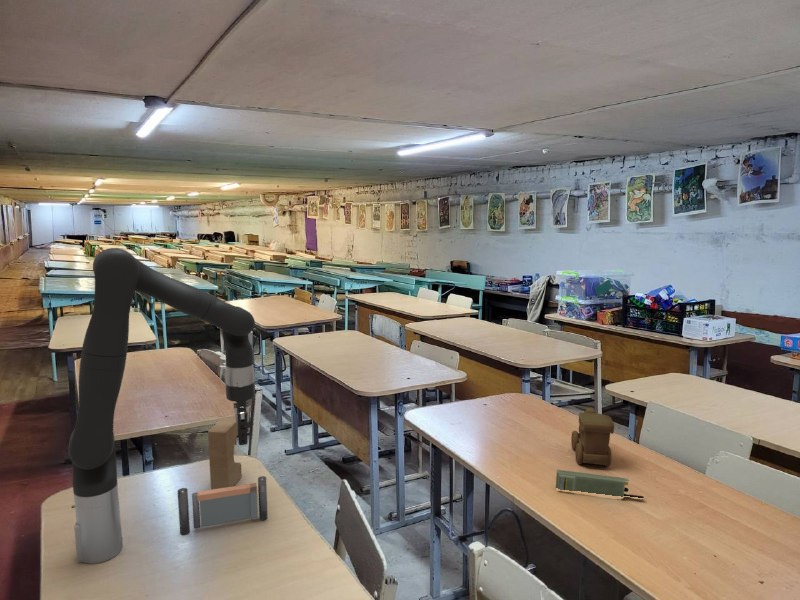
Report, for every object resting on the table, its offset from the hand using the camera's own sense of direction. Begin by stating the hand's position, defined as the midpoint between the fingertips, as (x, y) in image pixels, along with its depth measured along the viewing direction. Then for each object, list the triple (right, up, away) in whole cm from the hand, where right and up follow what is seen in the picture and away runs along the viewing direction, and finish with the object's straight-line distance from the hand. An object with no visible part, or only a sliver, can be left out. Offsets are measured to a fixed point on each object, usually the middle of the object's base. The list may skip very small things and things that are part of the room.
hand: (242, 439), depth 144 cm
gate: (-3, -21, -3) cm, 22 cm away
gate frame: (-4, -22, -3) cm, 23 cm away
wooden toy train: (+110, -17, +39) cm, 118 cm away
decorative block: (-10, -19, +17) cm, 28 cm away
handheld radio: (+104, -21, +14) cm, 107 cm away
